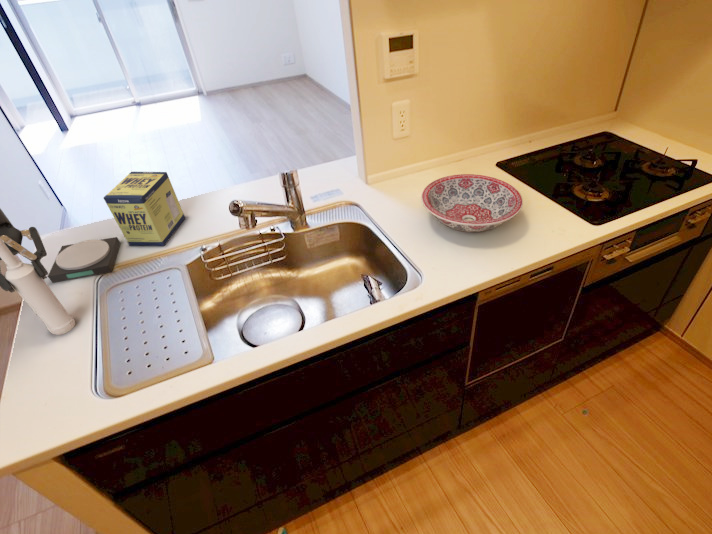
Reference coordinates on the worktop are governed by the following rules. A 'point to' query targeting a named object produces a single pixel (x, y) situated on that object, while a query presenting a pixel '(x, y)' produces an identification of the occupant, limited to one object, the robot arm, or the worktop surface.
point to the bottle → (36, 293)
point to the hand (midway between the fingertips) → (28, 284)
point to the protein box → (145, 208)
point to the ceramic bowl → (471, 201)
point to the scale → (85, 259)
